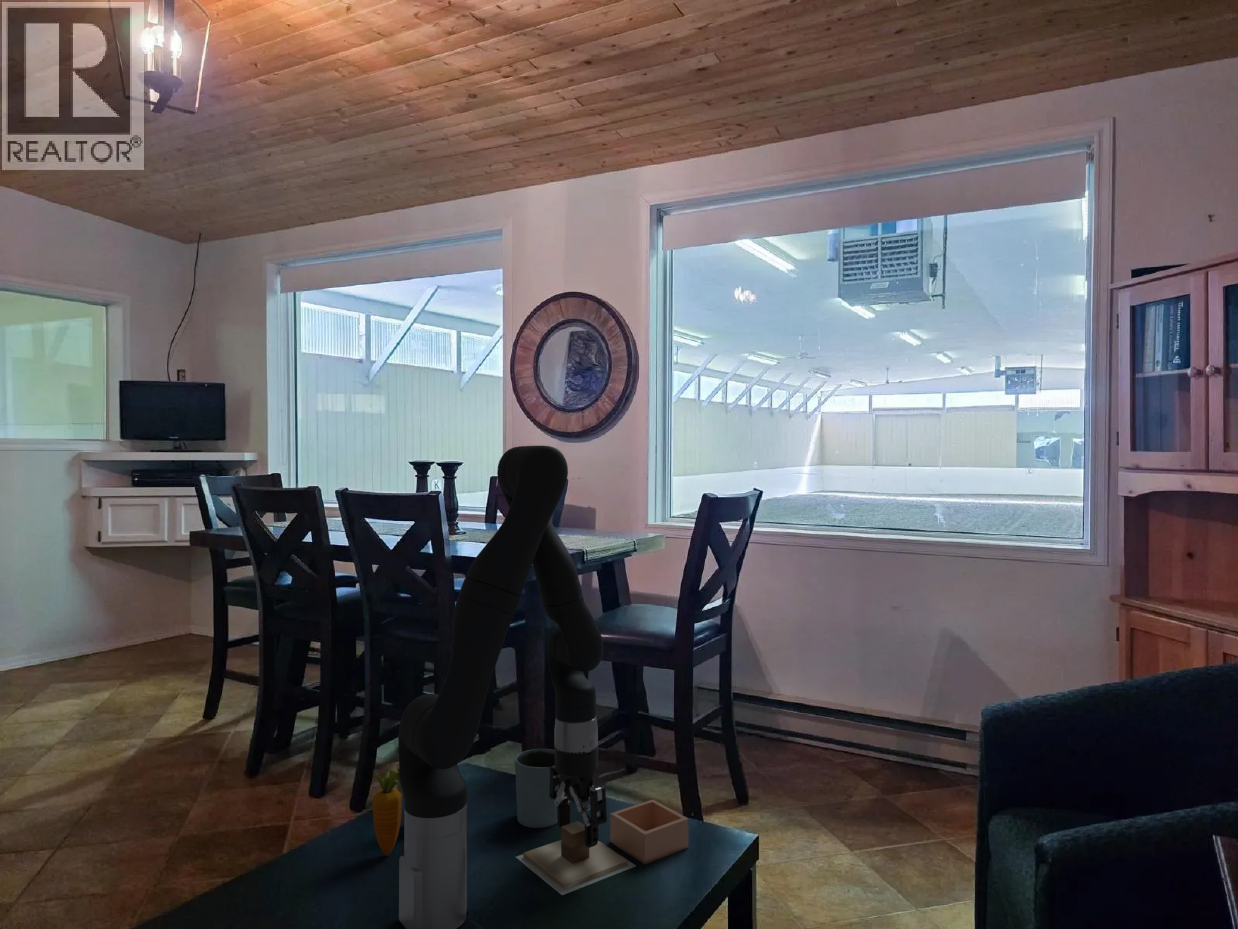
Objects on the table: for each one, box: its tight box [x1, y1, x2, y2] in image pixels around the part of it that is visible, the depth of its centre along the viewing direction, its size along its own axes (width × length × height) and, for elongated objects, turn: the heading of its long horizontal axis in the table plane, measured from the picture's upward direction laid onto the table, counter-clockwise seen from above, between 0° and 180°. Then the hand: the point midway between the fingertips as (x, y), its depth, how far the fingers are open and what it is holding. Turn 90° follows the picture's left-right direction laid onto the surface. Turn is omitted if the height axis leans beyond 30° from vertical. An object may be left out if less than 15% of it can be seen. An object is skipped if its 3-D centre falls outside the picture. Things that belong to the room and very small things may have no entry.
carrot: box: [372, 769, 403, 857], centre depth 135 cm, size 5×5×15 cm
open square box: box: [609, 799, 689, 865], centre depth 138 cm, size 10×10×6 cm
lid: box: [523, 820, 629, 890], centre depth 132 cm, size 13×13×6 cm
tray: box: [515, 850, 637, 896], centre depth 132 cm, size 15×15×1 cm
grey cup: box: [514, 748, 559, 829], centre depth 149 cm, size 10×10×12 cm
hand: (577, 836), depth 133 cm, fingers open, 8 cm apart
